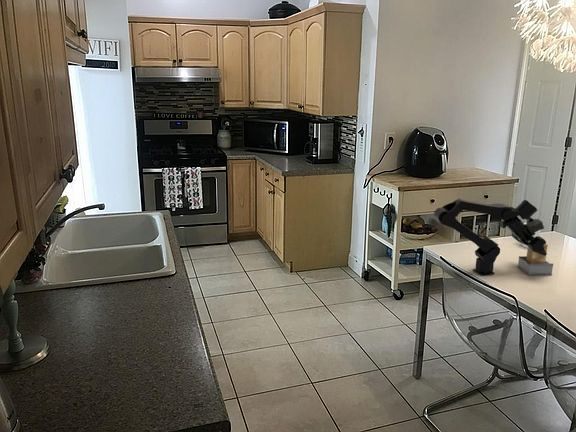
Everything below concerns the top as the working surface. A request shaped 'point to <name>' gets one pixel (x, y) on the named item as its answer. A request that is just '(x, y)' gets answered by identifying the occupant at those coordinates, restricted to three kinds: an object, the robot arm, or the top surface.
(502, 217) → the robot arm
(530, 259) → the small crate
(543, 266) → the large crate
